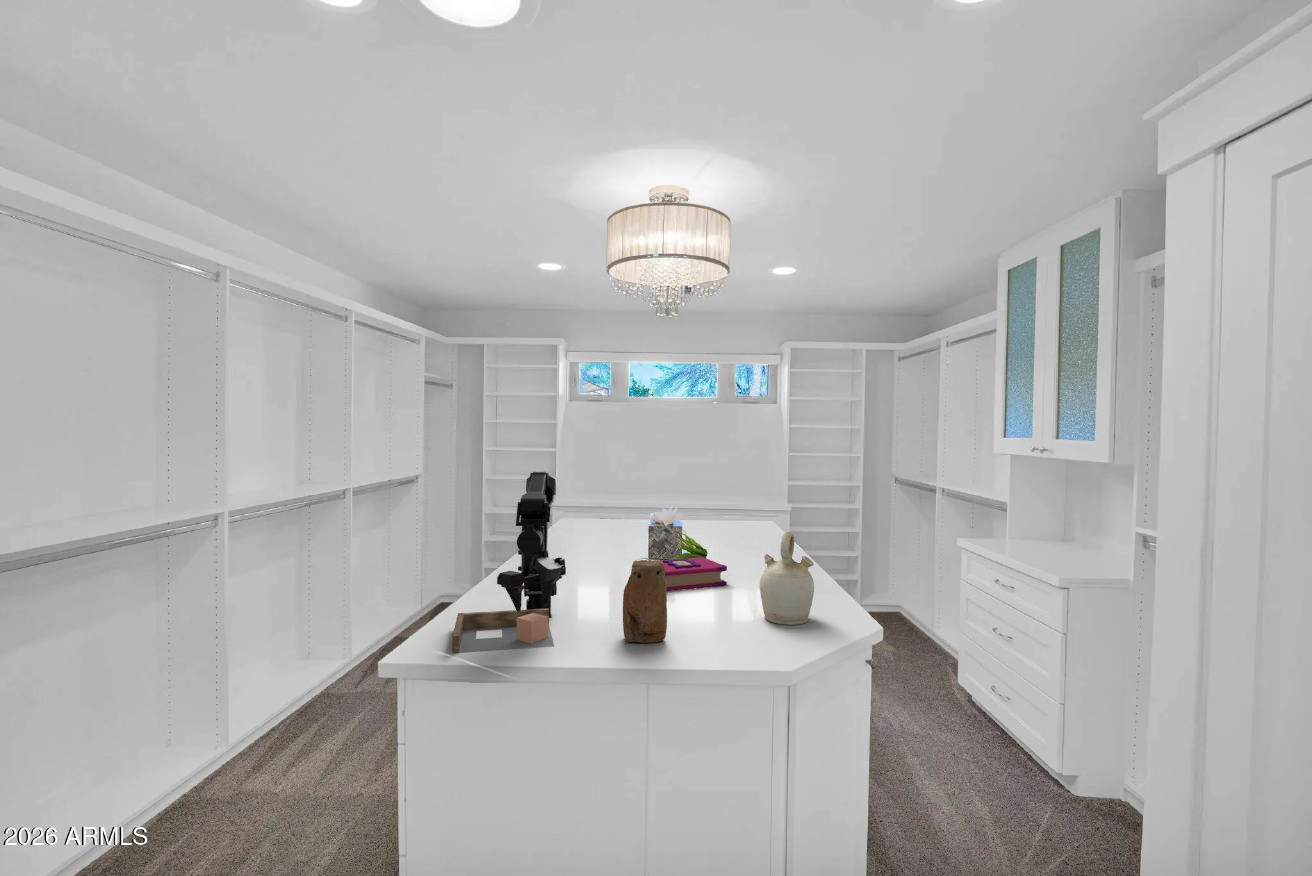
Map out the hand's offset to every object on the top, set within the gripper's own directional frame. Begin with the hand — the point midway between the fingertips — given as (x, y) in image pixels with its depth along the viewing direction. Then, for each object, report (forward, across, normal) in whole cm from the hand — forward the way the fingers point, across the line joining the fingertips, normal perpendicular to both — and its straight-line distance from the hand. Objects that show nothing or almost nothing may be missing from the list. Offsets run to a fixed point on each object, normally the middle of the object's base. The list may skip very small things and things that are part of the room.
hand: (532, 607), depth 164 cm
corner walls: (+8, -4, +7) cm, 11 cm away
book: (+9, +76, +6) cm, 77 cm away
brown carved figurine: (+8, +18, -23) cm, 30 cm away
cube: (+8, 0, 0) cm, 8 cm away
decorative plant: (+9, +102, +28) cm, 107 cm away
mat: (+8, -4, +7) cm, 11 cm away
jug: (+8, +58, -43) cm, 73 cm away
